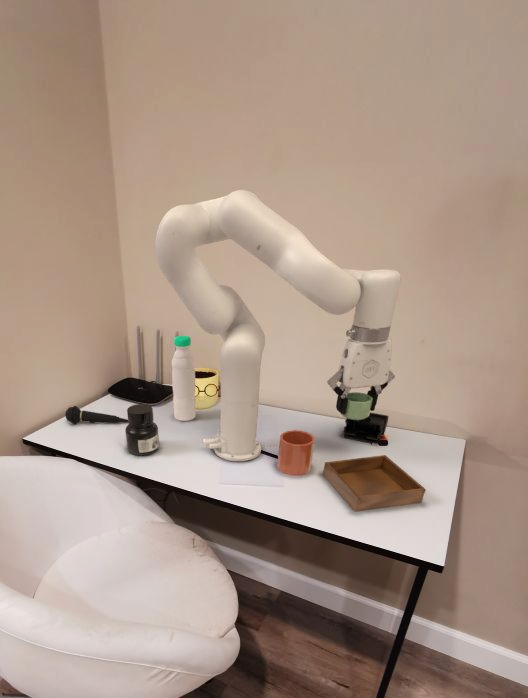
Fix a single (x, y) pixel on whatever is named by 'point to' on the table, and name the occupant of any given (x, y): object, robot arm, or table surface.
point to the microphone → (90, 416)
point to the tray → (373, 483)
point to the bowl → (358, 406)
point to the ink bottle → (141, 430)
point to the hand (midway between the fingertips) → (355, 409)
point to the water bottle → (183, 380)
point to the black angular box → (366, 428)
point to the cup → (295, 452)
